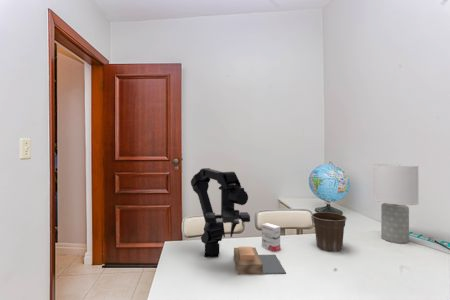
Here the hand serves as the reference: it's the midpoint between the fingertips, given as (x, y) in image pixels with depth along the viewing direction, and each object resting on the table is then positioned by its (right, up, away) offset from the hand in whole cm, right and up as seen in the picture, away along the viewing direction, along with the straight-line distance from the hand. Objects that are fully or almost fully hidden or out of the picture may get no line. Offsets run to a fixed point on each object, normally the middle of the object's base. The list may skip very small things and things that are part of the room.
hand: (227, 237), depth 104 cm
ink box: (+22, -12, +18) cm, 31 cm away
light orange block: (+8, -8, 0) cm, 11 cm away
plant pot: (+52, -13, +20) cm, 57 cm away
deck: (+8, -12, 0) cm, 15 cm away
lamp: (+94, -13, +31) cm, 99 cm away
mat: (+18, -12, +1) cm, 22 cm away
